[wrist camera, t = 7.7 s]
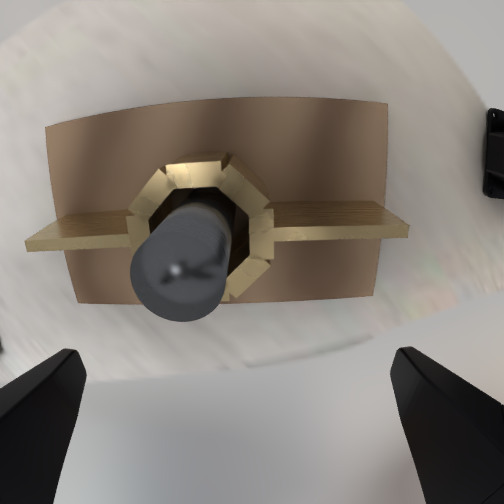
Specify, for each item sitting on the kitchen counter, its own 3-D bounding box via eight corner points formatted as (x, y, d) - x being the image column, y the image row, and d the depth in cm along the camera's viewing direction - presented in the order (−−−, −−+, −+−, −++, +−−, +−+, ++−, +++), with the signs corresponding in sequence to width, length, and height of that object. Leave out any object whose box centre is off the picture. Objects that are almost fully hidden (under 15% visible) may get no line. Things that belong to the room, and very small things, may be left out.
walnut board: (380, 104, 16) (387, 103, 15) (368, 288, 21) (372, 295, 20) (53, 126, 16) (45, 127, 15) (83, 296, 20) (78, 303, 20)
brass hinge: (376, 152, 16) (414, 163, 12) (368, 255, 19) (398, 291, 14) (58, 171, 16) (13, 187, 12) (75, 265, 18) (41, 299, 14)
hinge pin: (235, 181, 17) (222, 229, 8) (237, 231, 18) (229, 321, 9) (183, 184, 17) (122, 234, 8) (187, 233, 18) (139, 321, 9)
